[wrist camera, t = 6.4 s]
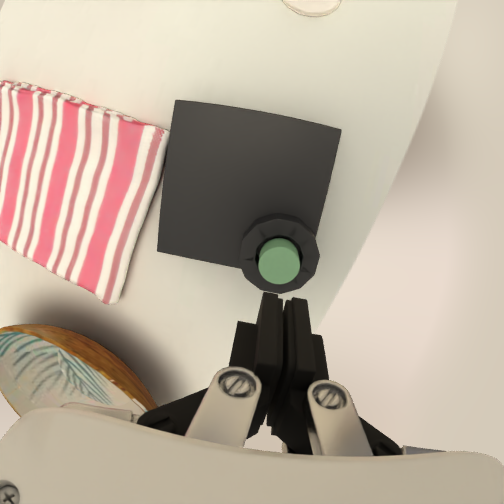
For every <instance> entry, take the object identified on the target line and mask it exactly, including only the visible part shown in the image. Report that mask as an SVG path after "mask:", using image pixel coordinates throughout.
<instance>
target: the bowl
mask: <svg viewBox="0 0 504 504" xmlns="http://www.w3.org/2000/svg"><path fill="white" fill-rule="evenodd" d="M0 391H1V393H2V394H3V396H4V397H5V399H6V400H7V402H8V403H9V404H10V405H11V407H12V408H13V409H14V411H15V412H16V413H17V414H18V415H19V416H20V417H22V416H23V415H25V414H26V413H28V412H30V411H32V410H35V409H39V408H47V407H60V406H62V405H63V404H65V403H69V402H79V403H84V404H90V405H95V406H102V407H108V408H115V409H123V410H131V411H133V414H139V415H142V414H143V413H145V412H147V411H149V410H152V409H155V408H157V405H156V404H155V402H154V400H153V398H152V396H151V395H150V393H149V392H148V390H147V389H146V388H145V386H144V385H143V384H142V382H141V381H140V380H139V378H138V377H137V376H136V374H135V373H134V372H133V371H132V370H131V369H130V368H129V367H128V366H127V365H126V364H125V363H124V362H123V361H121V360H120V359H119V358H118V357H116V356H115V355H114V354H113V353H112V352H110V351H109V350H107V349H106V348H104V347H103V346H101V345H100V344H98V343H97V342H95V341H93V340H91V339H89V338H87V337H85V336H83V335H81V334H78V333H75V332H73V331H70V330H67V329H63V328H59V327H54V326H50V325H42V324H22V325H13V326H8V327H3V328H1V329H0Z"/></svg>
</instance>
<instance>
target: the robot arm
mask: <svg viewBox="0 0 504 504" xmlns="http://www.w3.org/2000/svg"><path fill="white" fill-rule="evenodd" d="M266 414H267V426H271V427H272V429H271V435H276V436H278V437H279V438H280V439H281V440H282V441H283V443H282V453H279V452H270V451H262V450H254V449H247V448H243V447H244V443H245V441H246V439H248V438H250V437H252V436H253V435H255V434H257V433H258V430H259V428H260V425H263V422H264V419H265V417H266ZM0 504H504V466H503V465H502V463H501V462H500V461H499V460H497V459H496V458H493V457H492V456H489V455H486V454H482V453H478V452H468V451H449V452H447V451H441V450H432V449H425V448H424V449H423V448H417V447H411V446H403V447H402V448H399V446H398V445H397V444H396V443H395V442H394V441H392V440H391V439H390V438H388V437H387V436H385V435H384V434H383V433H381V432H380V431H379V430H377V429H375V428H374V427H373V426H372V425H370V424H369V423H367V422H366V421H365V420H363V419H362V418H361V417H359V416H358V413H357V411H356V409H355V406H354V403H353V400H352V398H351V395H350V394H349V392H348V390H347V389H346V388H345V387H344V386H342V385H340V384H339V383H337V382H334V381H331V380H329V375H328V369H327V363H326V356H325V351H324V345H323V339H322V336H321V335H316V334H312V333H311V325H310V318H309V311H308V303H307V300H306V299H300V298H295V297H292V299H291V300H286V303H285V306H284V310H283V299H280V298H278V294H273V293H268V292H263V296H262V300H261V305H260V309H259V313H258V318H257V322H256V324H252V323H246V322H241V321H238V323H237V328H236V333H235V338H234V343H233V348H232V352H231V357H230V362H229V367H226V368H223V369H221V370H219V371H218V372H217V373H216V374H215V376H214V378H213V380H212V382H211V384H210V386H209V387H208V388H206V389H203V390H201V391H199V392H196V393H194V394H191V395H189V396H186V397H184V398H181V399H179V400H176V401H173V402H171V403H168V404H165V405H163V406H160V407H157V408H155V409H152V410H149V411H147V412H145V413H143V414H142V415H139V414H133V411H131V410H123V409H115V408H108V407H102V406H95V405H90V404H84V403H79V402H69V403H65V404H63V405H62V406H60V407H47V408H39V409H35V410H32V411H30V412H28V413H26V414H25V415H23V416H22V417H21V418H20V419H18V420H17V421H16V422H15V423H14V424H13V425H12V426H11V428H10V429H9V430H8V431H7V433H6V434H5V435H4V436H3V438H2V439H1V440H0Z"/></svg>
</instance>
